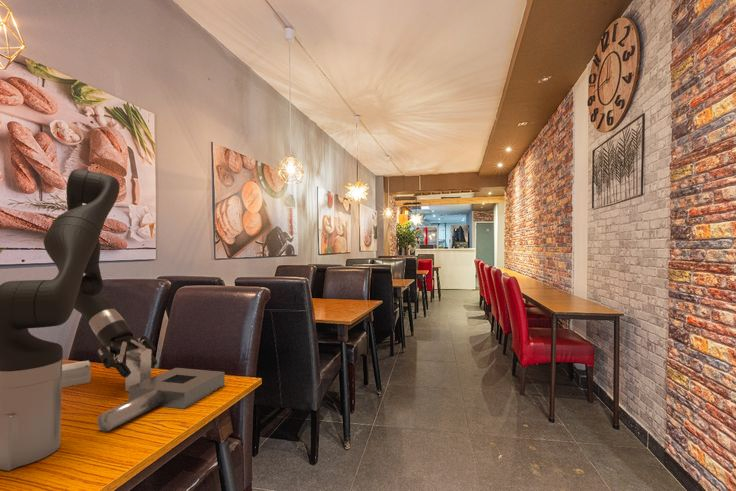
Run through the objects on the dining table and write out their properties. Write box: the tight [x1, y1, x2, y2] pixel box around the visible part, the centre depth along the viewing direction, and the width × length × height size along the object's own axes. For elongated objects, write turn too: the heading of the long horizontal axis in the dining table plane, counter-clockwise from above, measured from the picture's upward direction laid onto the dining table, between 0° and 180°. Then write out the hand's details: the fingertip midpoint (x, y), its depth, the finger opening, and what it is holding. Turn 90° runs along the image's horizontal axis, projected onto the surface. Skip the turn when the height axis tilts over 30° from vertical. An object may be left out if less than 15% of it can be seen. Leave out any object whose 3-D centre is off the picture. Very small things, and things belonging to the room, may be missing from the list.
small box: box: [62, 360, 92, 388], centre depth 102 cm, size 8×8×5 cm
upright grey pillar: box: [125, 348, 152, 392], centre depth 97 cm, size 4×5×11 cm
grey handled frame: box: [97, 367, 226, 433], centre depth 87 cm, size 29×17×4 cm, turn 167°
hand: (142, 370), depth 96 cm, fingers open, 8 cm apart
